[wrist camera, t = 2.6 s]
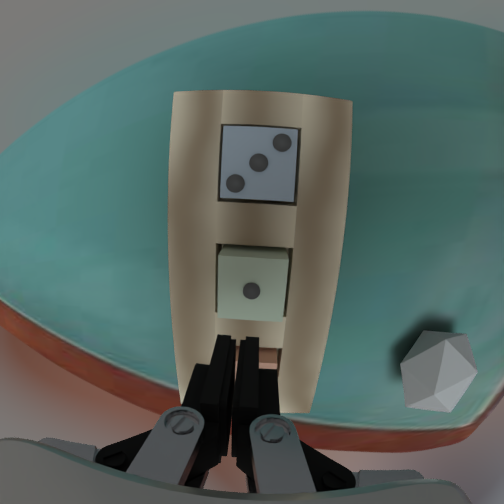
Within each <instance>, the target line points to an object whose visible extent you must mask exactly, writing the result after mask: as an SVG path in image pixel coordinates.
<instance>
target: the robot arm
mask: <svg viewBox="0 0 504 504" xmlns="http://www.w3.org/2000/svg"><path fill="white" fill-rule="evenodd" d="M235 366H236V339H231V335H220V334H218V335H217V338H216V342H215V346H214V350H213V354H212V357H211V361H210V365H208V364H199V363H196V364H195V366H194V369H193V372H192V375H191V378H190V381H189V384H188V387H187V390H186V394H185V397H184V400H183V403H182V406H181V407H174V408H171V409H168V410H167V411H165V412H164V413H163V414H162V415H161V417H160V418H159V420H158V421H157V423H156V425H155V426H154V428H153V429H152V430H149V431H147V432H144V433H141V434H139V435H136V436H133V437H131V438H128V439H125V440H123V441H120V442H117V443H114V444H111V445H108V446H106V447H104V448H102V449H97V448H96V446H93V445H87V444H81V443H75V442H69V441H64V440H60V439H55V438H43V439H41V440H40V441H38V442H37V441H33V440H29V439H22V438H3V439H0V504H472V502H471V501H470V499H469V498H468V496H467V495H466V493H465V492H464V491H463V490H462V489H461V488H460V487H459V486H458V485H456V484H455V483H452V482H450V481H445V480H438V479H424V477H423V476H422V475H421V474H420V473H419V472H417V471H415V470H360V471H359V472H351V471H350V470H349V469H347V468H345V467H344V466H342V465H340V464H339V463H337V462H335V461H333V460H331V459H330V458H328V457H326V456H325V455H323V454H321V453H320V452H318V451H316V450H315V449H313V448H312V447H310V446H308V445H307V444H305V443H304V442H302V441H301V440H299V437H298V434H297V431H296V428H295V426H294V424H293V423H292V422H291V421H290V420H289V419H288V418H286V417H284V416H280V404H279V389H278V374H277V369H261V368H259V337H248V336H246V340H240V347H239V355H238V363H237V371H236V379H235ZM231 419H232V457H237V463H236V466H237V467H238V468H239V469H241V470H242V471H243V472H244V473H245V474H246V484H247V491H248V493H238V492H225V491H216V490H207V489H203V488H204V485H205V482H206V479H207V477H208V474H209V469H210V468H212V467H214V466H216V465H218V463H221V456H227V452H228V444H229V436H230V427H231Z"/></svg>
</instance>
